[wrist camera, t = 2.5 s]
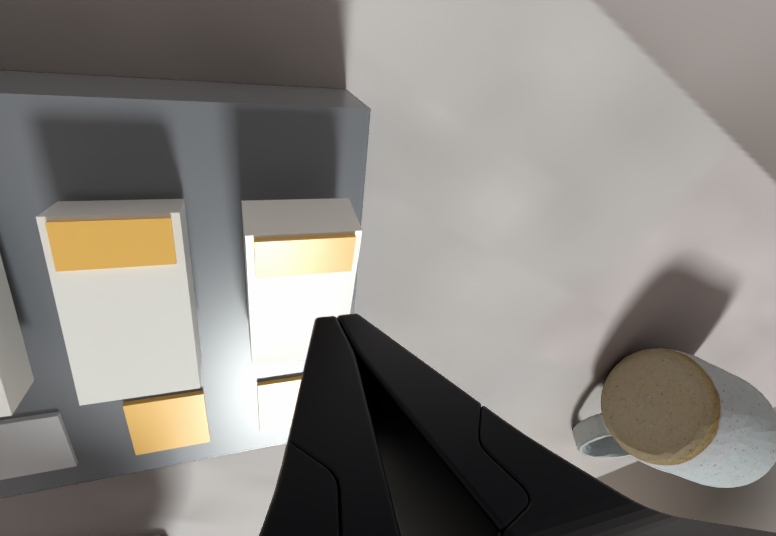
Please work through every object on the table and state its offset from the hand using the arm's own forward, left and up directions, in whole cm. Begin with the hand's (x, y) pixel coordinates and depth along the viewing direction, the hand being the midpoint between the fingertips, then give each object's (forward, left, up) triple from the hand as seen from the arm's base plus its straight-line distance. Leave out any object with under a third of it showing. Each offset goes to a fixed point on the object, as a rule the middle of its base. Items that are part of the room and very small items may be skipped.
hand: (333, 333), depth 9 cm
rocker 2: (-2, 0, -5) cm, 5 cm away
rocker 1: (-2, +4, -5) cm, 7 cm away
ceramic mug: (-16, -24, -10) cm, 31 cm away
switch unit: (-4, +4, -9) cm, 11 cm away
